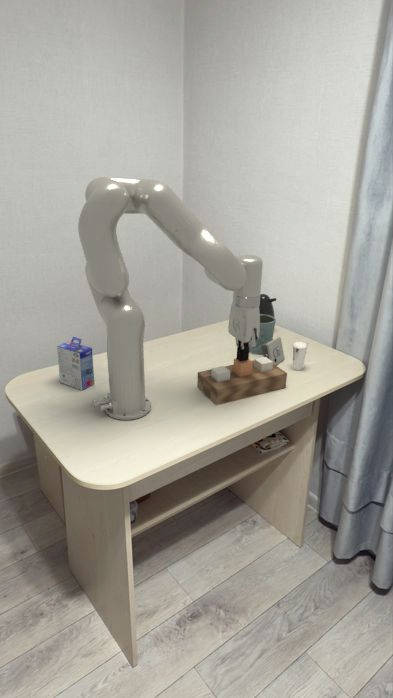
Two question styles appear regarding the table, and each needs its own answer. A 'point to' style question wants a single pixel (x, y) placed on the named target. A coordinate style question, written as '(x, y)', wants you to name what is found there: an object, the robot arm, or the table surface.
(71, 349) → the ink cartridge box
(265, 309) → the pump dispenser
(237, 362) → the terracotta peg
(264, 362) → the grey peg right
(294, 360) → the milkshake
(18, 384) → the table surface
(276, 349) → the electrical switch
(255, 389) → the socket board
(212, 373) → the grey peg left
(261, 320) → the teal plant pot
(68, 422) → the table surface
